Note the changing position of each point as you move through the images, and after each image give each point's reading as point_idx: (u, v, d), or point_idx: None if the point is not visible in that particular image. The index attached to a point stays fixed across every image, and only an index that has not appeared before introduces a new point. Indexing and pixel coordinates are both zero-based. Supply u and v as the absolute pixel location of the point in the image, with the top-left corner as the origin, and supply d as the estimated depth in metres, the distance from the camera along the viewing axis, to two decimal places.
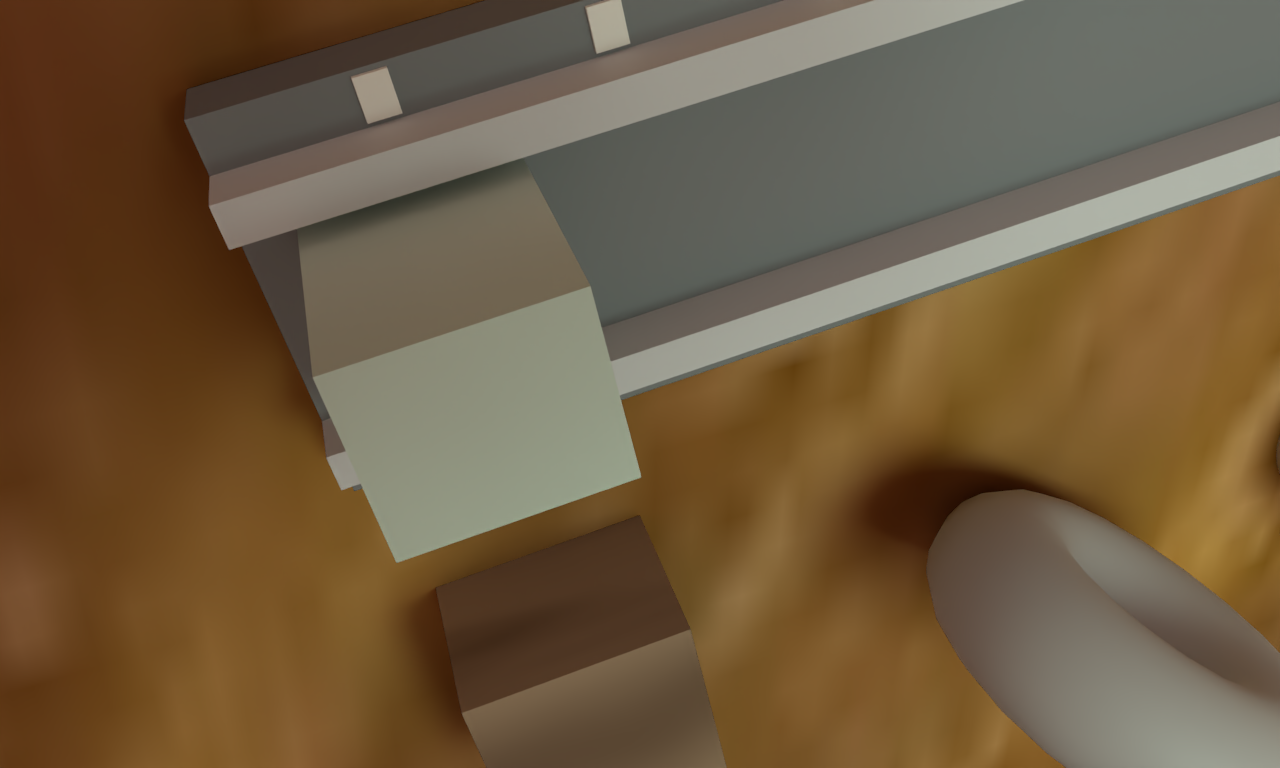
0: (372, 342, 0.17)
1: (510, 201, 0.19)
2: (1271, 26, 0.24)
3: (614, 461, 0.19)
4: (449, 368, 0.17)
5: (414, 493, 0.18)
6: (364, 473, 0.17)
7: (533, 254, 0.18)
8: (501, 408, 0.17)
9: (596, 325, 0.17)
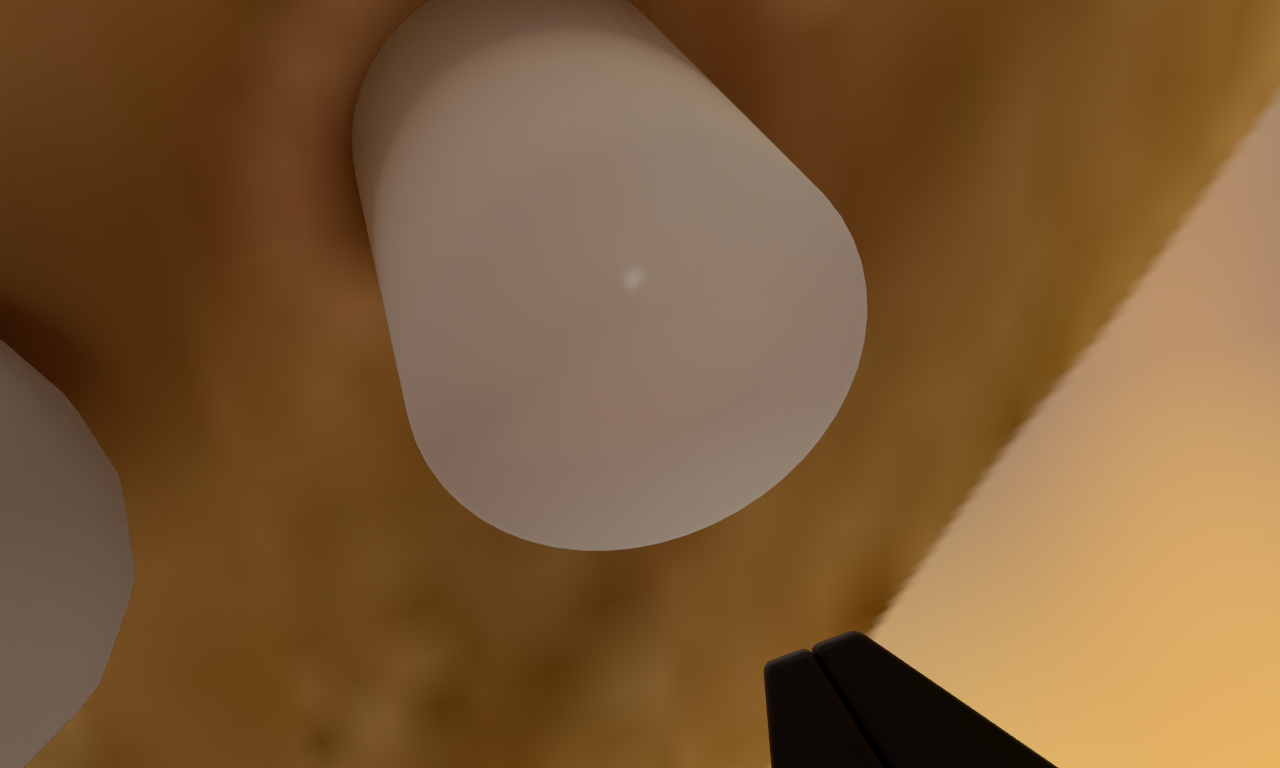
0: None
1: None
2: None
3: None
4: None
5: None
6: None
7: None
8: None
9: None
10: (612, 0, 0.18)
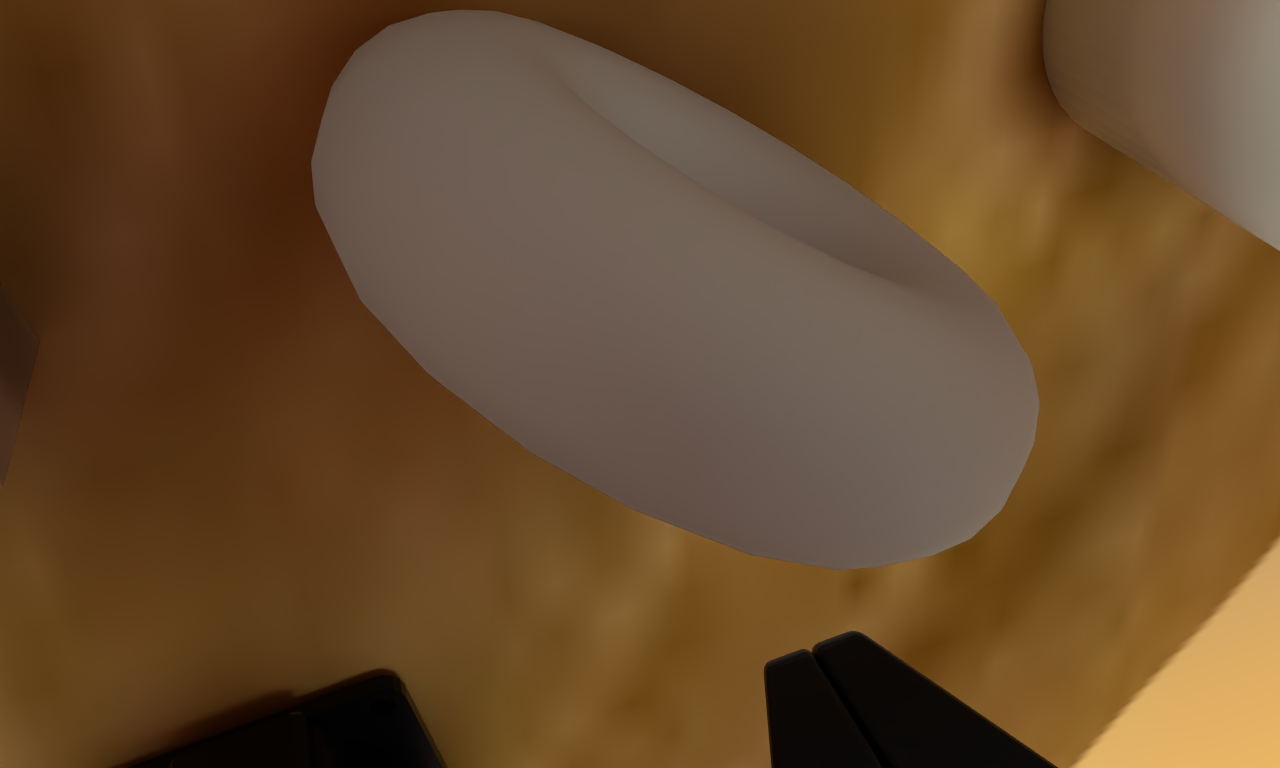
0: None
1: None
2: None
3: None
4: None
5: None
6: None
7: None
8: None
9: None
10: None
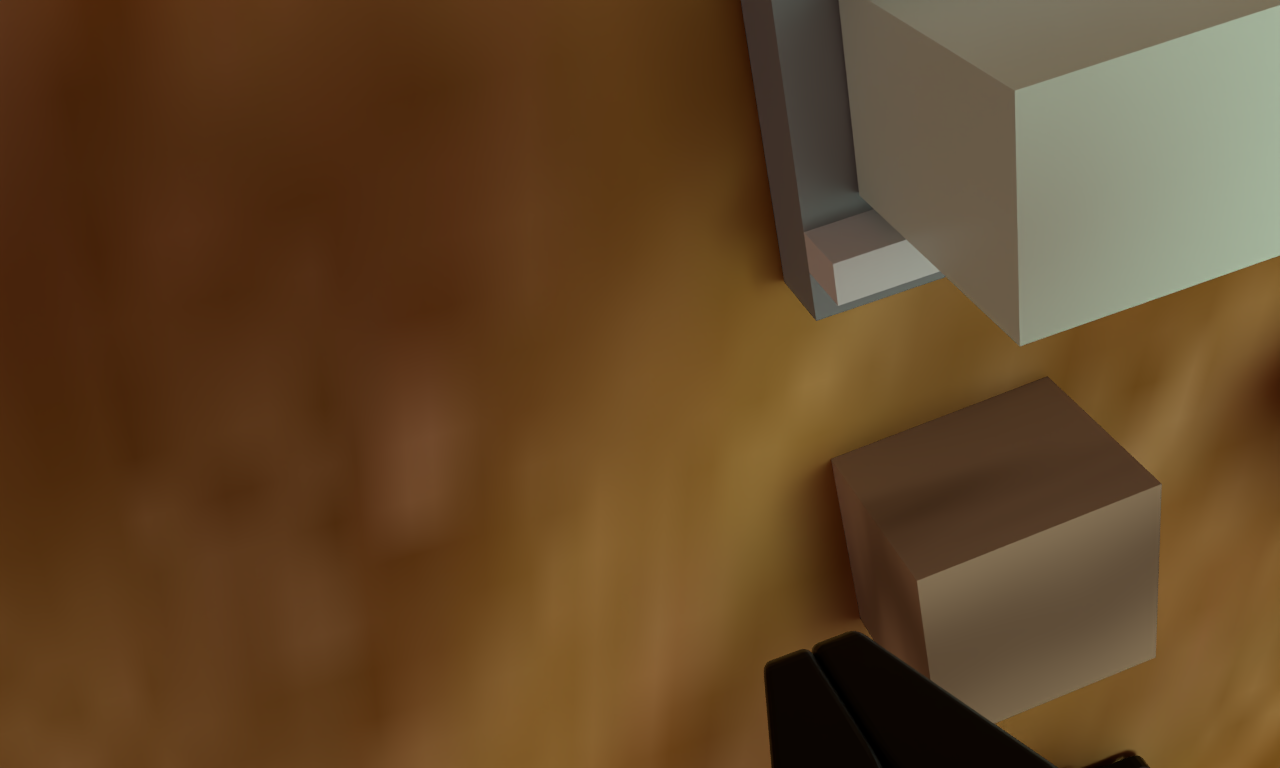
0: (1064, 57, 0.14)
1: None
2: None
3: (1269, 229, 0.16)
4: (1152, 90, 0.14)
5: (1065, 255, 0.15)
6: (1026, 224, 0.15)
7: None
8: (1184, 149, 0.15)
9: None
10: None
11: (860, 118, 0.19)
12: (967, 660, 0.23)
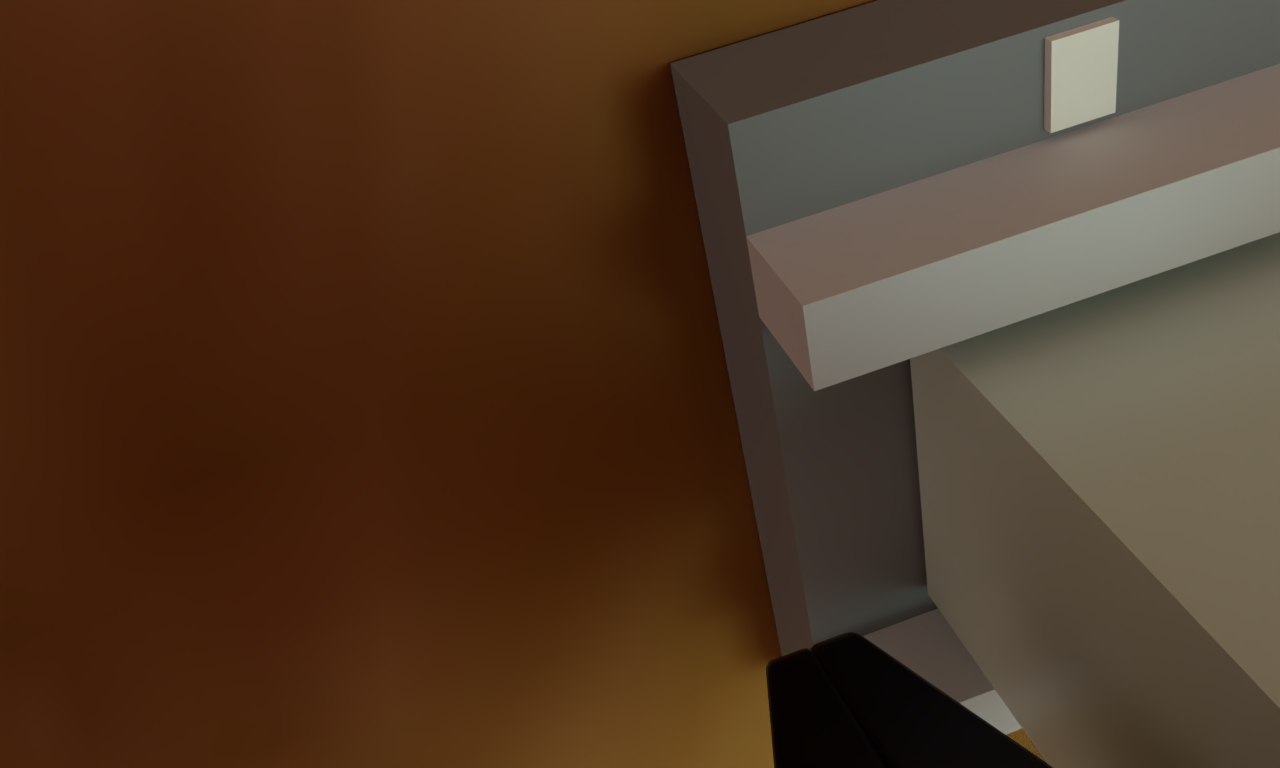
0: None
1: None
2: None
3: None
4: None
5: None
6: None
7: None
8: None
9: None
10: None
11: (938, 511, 0.11)
12: None
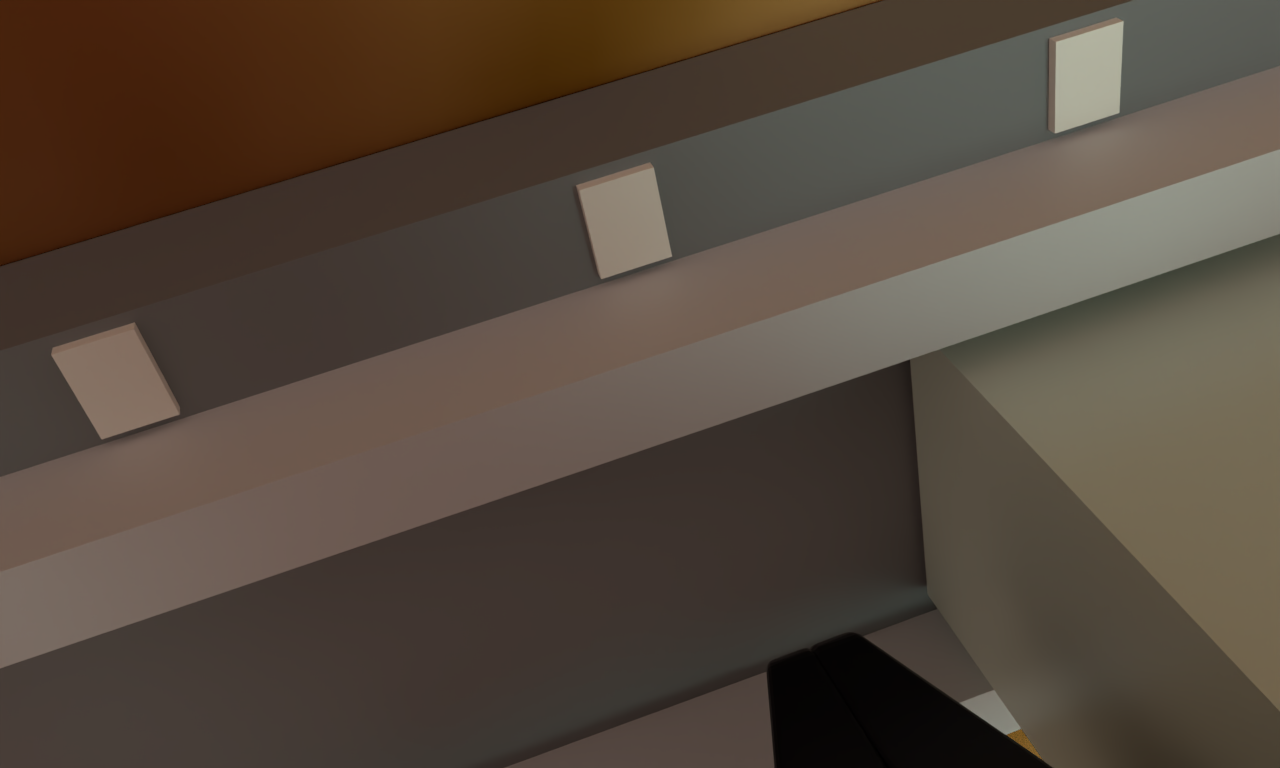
0: None
1: None
2: None
3: None
4: None
5: None
6: None
7: None
8: None
9: None
10: None
11: (938, 512, 0.11)
12: None
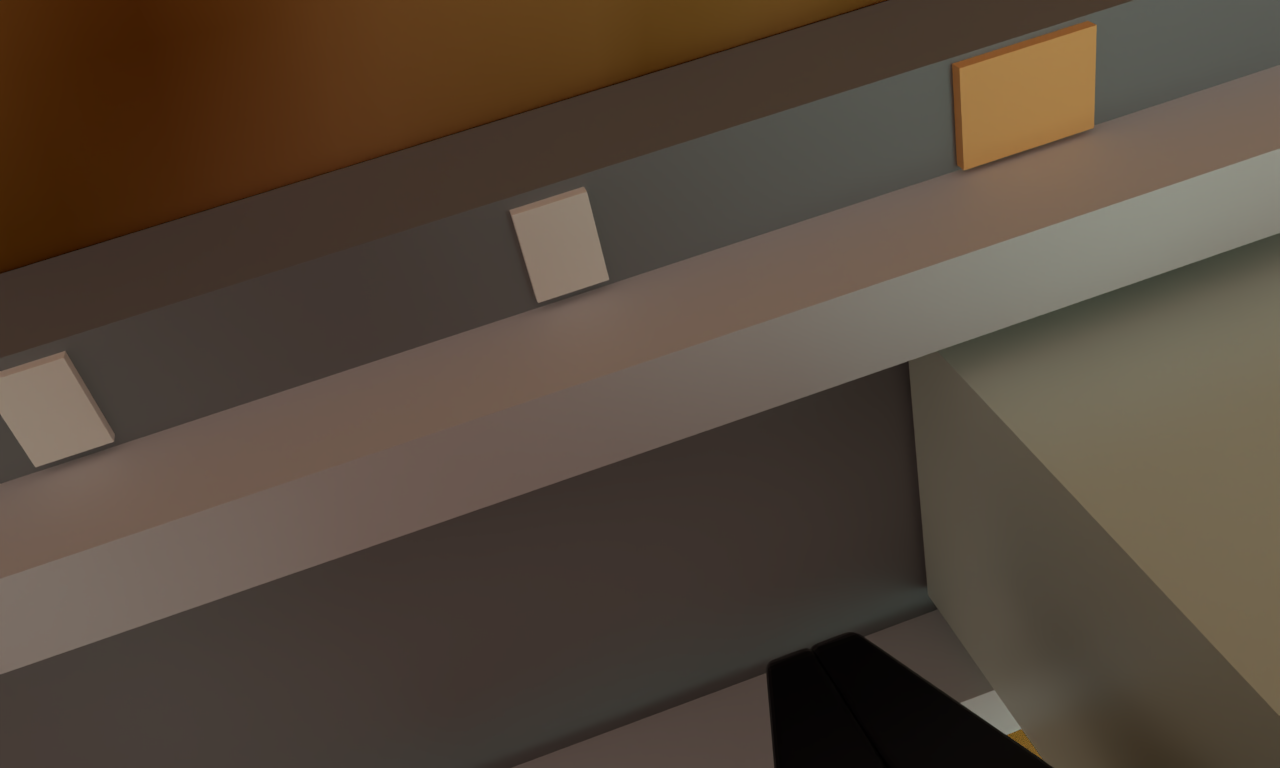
0: None
1: None
2: None
3: None
4: None
5: None
6: None
7: None
8: None
9: None
10: None
11: (937, 513, 0.12)
12: None
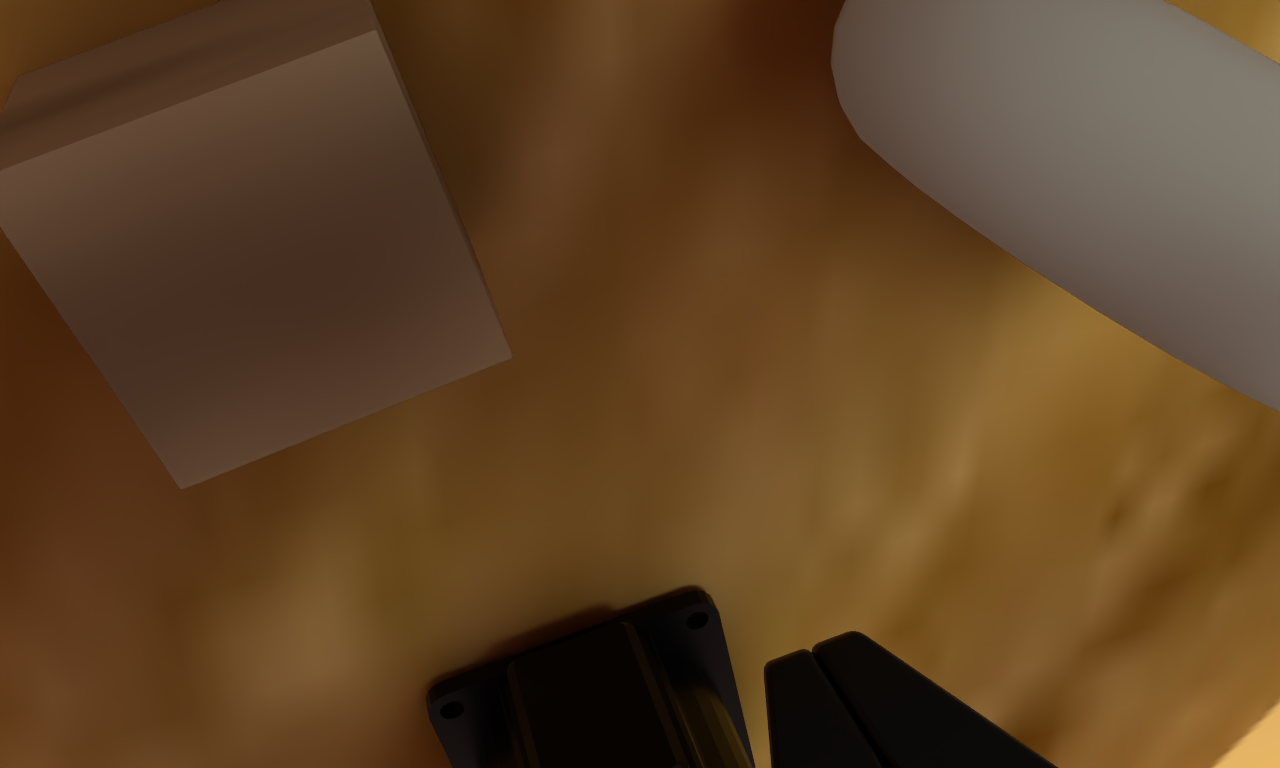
0: None
1: None
2: None
3: None
4: None
5: None
6: None
7: None
8: None
9: None
10: None
11: None
12: (153, 341, 0.15)
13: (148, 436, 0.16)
